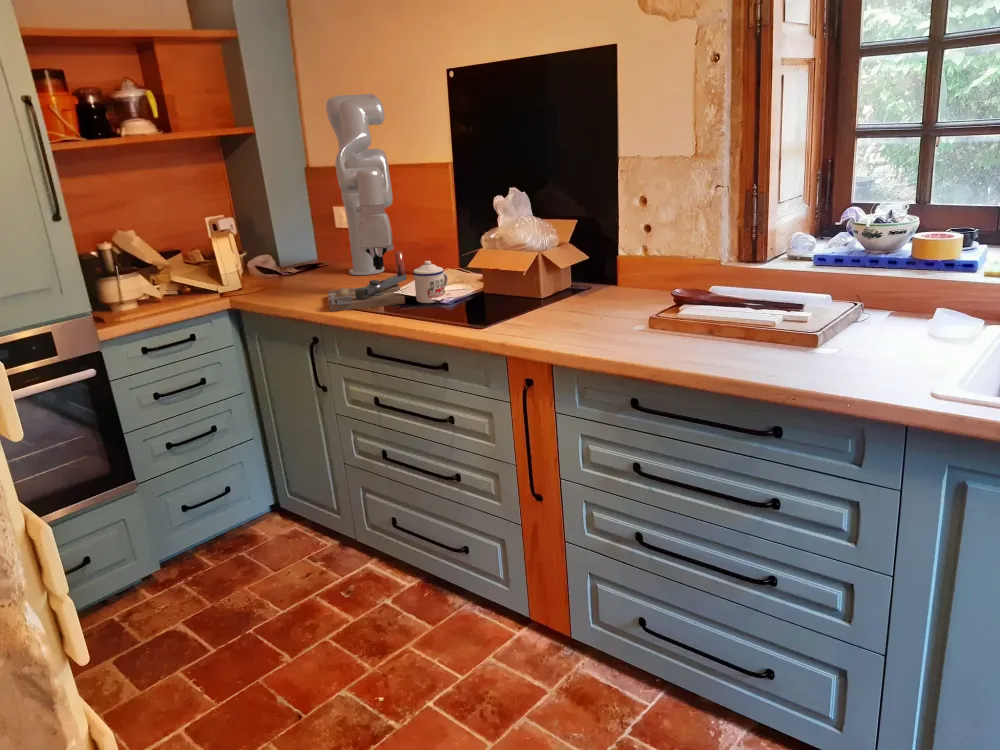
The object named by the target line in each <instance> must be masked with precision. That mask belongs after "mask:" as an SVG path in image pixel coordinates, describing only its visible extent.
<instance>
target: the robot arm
mask: <svg viewBox="0 0 1000 750" xmlns="http://www.w3.org/2000/svg"><path fill="white" fill-rule="evenodd" d="M325 108H326V113H327V117H328V122H329V124H330V126H331V127H332V130H333V132H334V134H335V136H336V138H337V139H336V140H337V143H338V152H337V153H336V157H335V171H336V177H337V182H338V186H339V189H340V190H341V192H340V193H341V200H342V203H343V208H344V210H345V216H346V219H347V229H348V237H349V245H350V253H351V261H352V268H350V269H349V272H348V273H349V274H350V275H352V276H370V275H375V274H376V275H377V274H380V273H383V272H384V271H385V265H384V255H385V254H386V252H389V251H392V250H394V249H395V247H394V244H393V243H394V240H393V233H392V225H391V222H390V218H389V215H388V214H387V213H386V209H385V208H389V207H390V206H391V205H393V200H394V199H393V197H394V196H393V189H392V187H393V186H392V181H391V175H390V174H391V173H390V169H389V168H390V167H389V161H388V158H387V154H386V153H385V151H384V150H383V149H380V148H369V147H370V146H371V144H372V137H371V132H370V126H379V125H382V124H384V121H385V109H384V105H383V103H382V101H381V99H380V98H379V97H378V96H377V95H375V94H373V93H371V94H370V93H368V94H367V93H364V94H363V93H361V94H343V95H336V96H333V97H330V98H328V99H327V101H326V103H325Z"/></svg>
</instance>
